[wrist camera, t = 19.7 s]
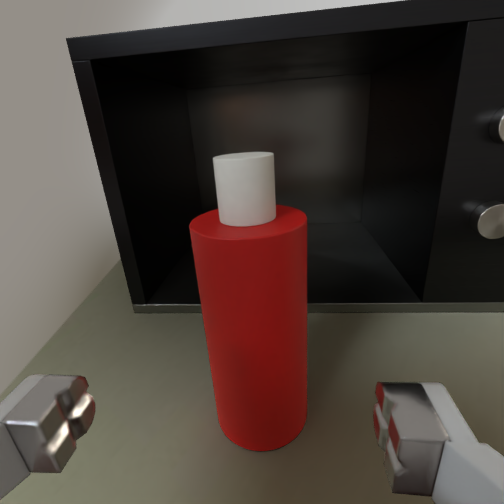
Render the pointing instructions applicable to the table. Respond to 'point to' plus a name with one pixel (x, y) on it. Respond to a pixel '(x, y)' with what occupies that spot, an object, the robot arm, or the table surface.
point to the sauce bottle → (254, 303)
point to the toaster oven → (313, 147)
